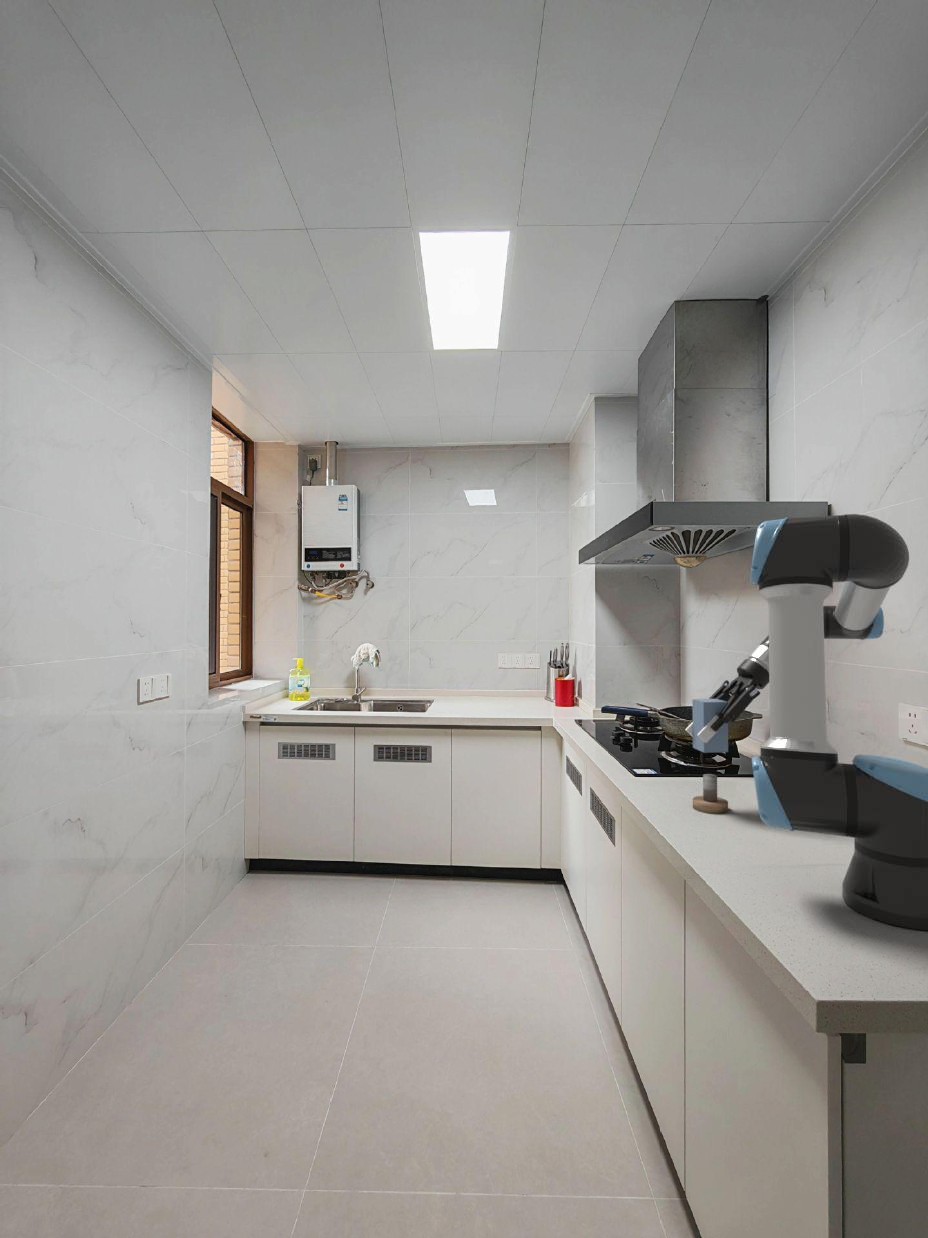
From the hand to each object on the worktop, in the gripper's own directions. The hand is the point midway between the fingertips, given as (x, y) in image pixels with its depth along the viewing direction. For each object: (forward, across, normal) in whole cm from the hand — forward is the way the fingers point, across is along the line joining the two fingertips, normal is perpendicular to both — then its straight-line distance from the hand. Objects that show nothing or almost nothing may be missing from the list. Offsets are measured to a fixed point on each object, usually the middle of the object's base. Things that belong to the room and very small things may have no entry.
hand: (695, 736), depth 151 cm
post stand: (+10, 0, -15) cm, 18 cm away
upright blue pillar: (0, 0, -5) cm, 5 cm away
